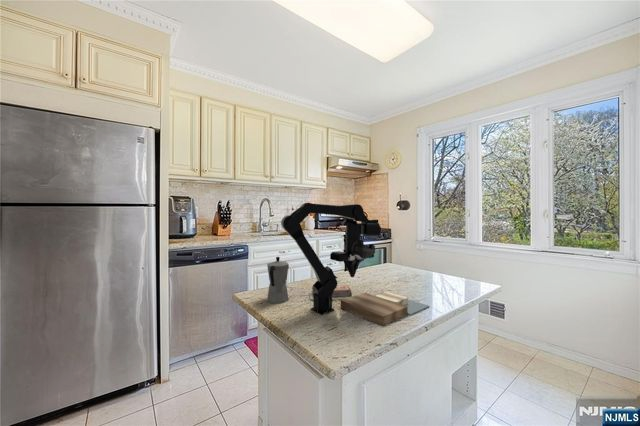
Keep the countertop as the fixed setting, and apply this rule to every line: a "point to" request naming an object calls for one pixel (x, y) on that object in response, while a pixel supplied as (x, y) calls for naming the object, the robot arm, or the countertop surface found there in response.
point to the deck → (374, 308)
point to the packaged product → (337, 293)
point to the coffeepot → (277, 281)
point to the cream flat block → (394, 298)
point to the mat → (413, 306)
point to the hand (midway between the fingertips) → (352, 277)
